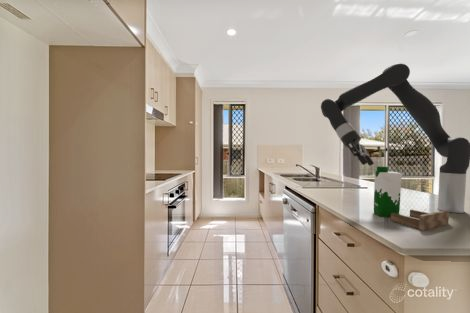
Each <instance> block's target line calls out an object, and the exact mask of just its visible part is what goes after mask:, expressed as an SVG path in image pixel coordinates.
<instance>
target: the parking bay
mask: <svg viewBox="0 0 470 313" xmlns="http://www.w3.org/2000/svg"><path fill="white" fill-rule="evenodd" d="M449 217H450V212H449V211H448V210H443V211H442V210H438V211H434V212H425V211H421V210H415V209H411V208H410V209H409V216H408V215H404V214H400V213H399V214H396V213H391V217H390V222H393V223H394V222H395V223H396V224H401V225H404V224H405V225H406V226H409V227H413V228H416V229H418V230H419V231H422V232H424V231H428V230H431V229H435V228H439V227H443V226H446V225H449ZM405 225H404V226H405Z"/></svg>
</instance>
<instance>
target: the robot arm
mask: <svg viewBox="0 0 470 313" xmlns="http://www.w3.org/2000/svg"><path fill="white" fill-rule="evenodd" d="M410 75H411V70H410V67H409V66H408V65H407V64H405V63H400V62H399V63H394V64H392V65H390V66H388V67H387V68H385V69H384V70H383V71H382V73H381V74H378V76H376V77H373V78H372V79H370V80H368V81H366V82H363V83H362V84H359V85H356V86H355V87H353V88H350V89H349V90H348V89H347V91H345V92H343V93H341V94H340V95H339V96H338V98H337V99H336V100H334V99H332V98H326V99H324V100H322V102H321V104H320V110H321V112H322V116H323V117H324V118H327V119H328V121H329V123H330V125H331V127H332V129H333V130H334V131H335V133H336V135H337V137H338V138H339V139H340V141H341V143H342V144H343V145H344V146H345V148H348V149H349V151H350V152H351V154H352V155H353V156H354V157H355V158H357V159H358V160H359V162H360V164H361V165H363V166H364V165H366V164H367V165H368V166H372V165H375V163H374V160H373V159H372V157H370V156H371V154H370V153H369V152H368V150H367V149H366V147H365V146H364V145H363V144H360V143H359V142H360V141H361V140H362V138H361V135H360V134H359V132H357V130H356V129H355V127H354V126H353V125H352V124H351V123H350V122H349V121H348V119H347V118H346V117H345V116H344V114H343V113H342V112H343V111H344V110H346V109H348V108H349V107H351V106H353V105H355V104H358V103H359V102H361V101H363V100H365V99H366V98H368V97H370V96H372V95H373V94H375V93H378V92H380V91H383V90H385V89H387V88H388V89H389V90H390V91H391V92H392V93H393V94H394V95H395V96H396V98H398V100H399V101H400V103H401V105H403V107H404V108H405V109H406V111H407V112H408V114H409V115H410V116H411V118H412V119H413V120H414V121H415V123H417V125H418V126H419V128H420V129H421V130H422V131H423V133H424V134H425V135H426V136H427V137H428V139H429V141H430V142H431V144H432V146H433V148H434V149H435V150H436V152H437V153H438V154H439V155H440V156H442V157H444V158H446V161H445V163H444V164H442V165H440V166H439V173H438V174H439V176H438V192H437V193H438V194H437V209H438V211H443V210H448V211H449V213H458V214H462V213H465V207H466V206H465V202H466V187H467V186H466V183H467V172H468V169H469V167H470V141H469V140H468V139H467V138H465V137H458V136H456V137H451V136H450V135H449V134H448V133H447V132H446V130H445V129H444V128H443V126H442V122H441V115H440V111H439V110H438V109H437V107H436V105H434V103H433V102H432V101H431V100H430V99H429V98H428V97H427V96H425V95H424V94H423V93H421V92H420V91H418V90H417V89H416V88H414V87H413V86H412V85H411V84H410V82H409V80H407V79H408V78H409V76H410Z"/></svg>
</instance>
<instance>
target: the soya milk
mask: <svg viewBox="0 0 470 313" xmlns="http://www.w3.org/2000/svg"><path fill="white" fill-rule="evenodd" d="M373 174H374V185H373V186H374V189H373V191H374V192H373V213H375V215H377V216H379V218H380V217H383V218H384V217H385V218H391V213H396V214H400V210H401V209H400V208H401V191H402V187H401V185H402V177H403V173H401V172H396V171H389V167H388V166H376V170H374V173H373Z"/></svg>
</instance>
